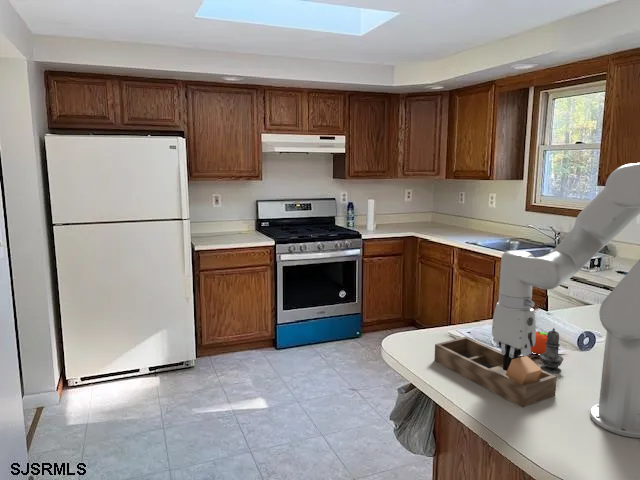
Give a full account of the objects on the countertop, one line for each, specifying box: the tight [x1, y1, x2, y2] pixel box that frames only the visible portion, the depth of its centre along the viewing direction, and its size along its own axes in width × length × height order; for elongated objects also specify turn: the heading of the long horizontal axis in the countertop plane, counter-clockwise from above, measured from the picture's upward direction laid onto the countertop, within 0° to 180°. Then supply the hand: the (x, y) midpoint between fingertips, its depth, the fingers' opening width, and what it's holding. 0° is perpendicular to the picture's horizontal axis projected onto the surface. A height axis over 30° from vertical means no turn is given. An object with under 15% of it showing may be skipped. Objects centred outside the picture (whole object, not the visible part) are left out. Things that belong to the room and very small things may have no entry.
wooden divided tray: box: [434, 336, 558, 408], centre depth 127 cm, size 30×12×5 cm, turn 28°
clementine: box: [531, 331, 548, 354], centre depth 140 cm, size 8×7×7 cm
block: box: [506, 355, 542, 385], centre depth 117 cm, size 5×5×5 cm
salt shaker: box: [539, 327, 564, 375], centre depth 130 cm, size 6×6×12 cm
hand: (509, 369), depth 121 cm, fingers closed
